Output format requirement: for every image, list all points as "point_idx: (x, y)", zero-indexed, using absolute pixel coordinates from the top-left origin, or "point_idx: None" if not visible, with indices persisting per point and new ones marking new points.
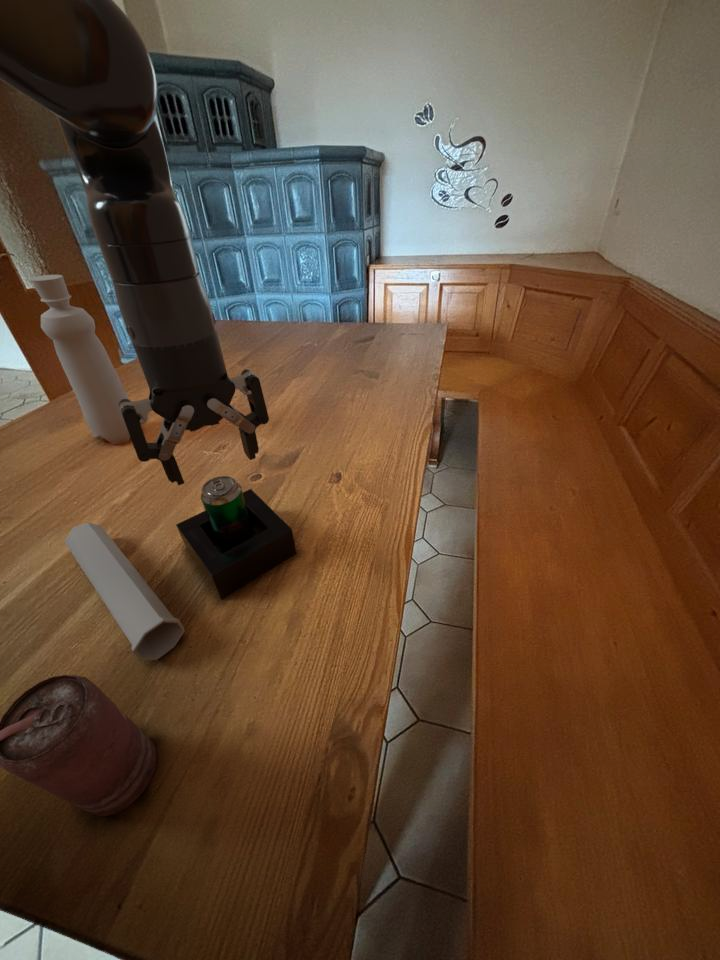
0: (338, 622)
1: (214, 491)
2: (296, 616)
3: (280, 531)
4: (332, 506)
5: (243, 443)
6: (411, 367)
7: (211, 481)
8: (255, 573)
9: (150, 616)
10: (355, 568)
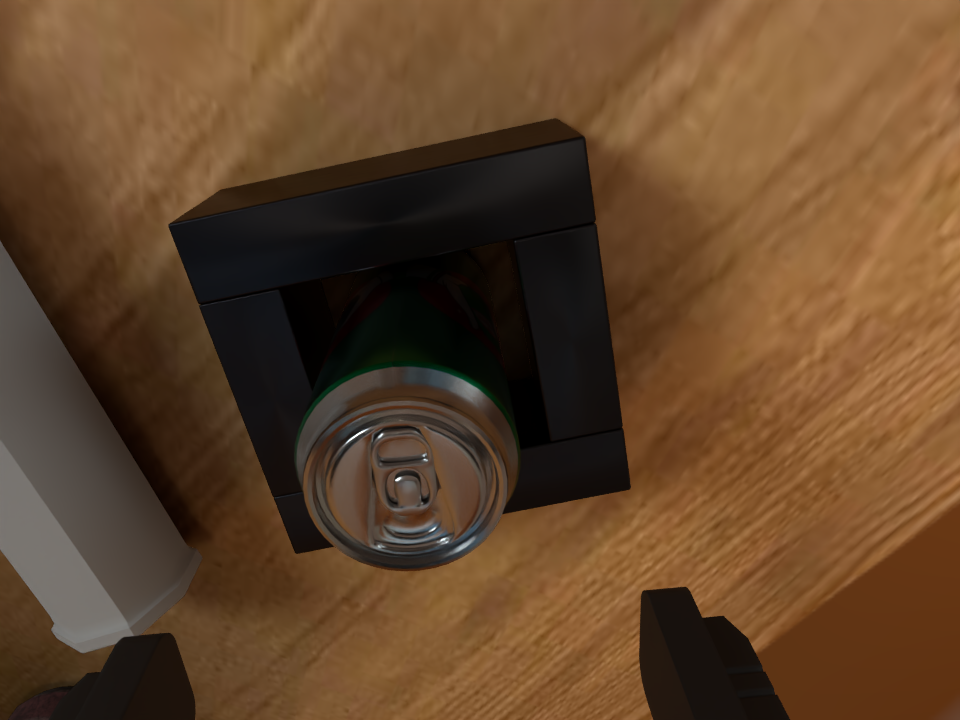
0: (586, 652)
1: (371, 518)
2: (500, 600)
3: (586, 479)
4: (854, 260)
5: (672, 693)
6: None
7: (371, 430)
8: None
9: (95, 604)
10: (725, 545)
